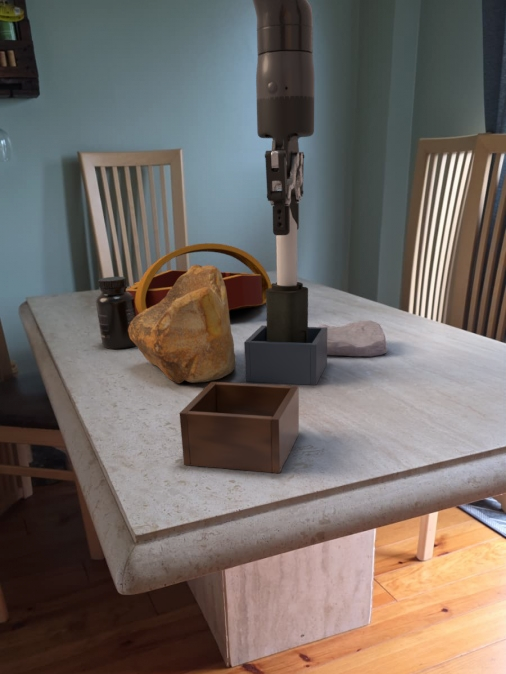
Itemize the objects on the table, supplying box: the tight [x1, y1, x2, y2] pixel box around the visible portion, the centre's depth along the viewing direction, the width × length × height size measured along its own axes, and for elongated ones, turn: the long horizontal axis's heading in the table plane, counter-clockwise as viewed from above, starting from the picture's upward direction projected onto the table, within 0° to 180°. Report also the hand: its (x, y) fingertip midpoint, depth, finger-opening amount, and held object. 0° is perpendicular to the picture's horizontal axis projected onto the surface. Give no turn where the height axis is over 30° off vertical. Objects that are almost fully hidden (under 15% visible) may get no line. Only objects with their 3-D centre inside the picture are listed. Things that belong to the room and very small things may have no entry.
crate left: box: [179, 381, 300, 474], centre depth 69 cm, size 11×11×6 cm
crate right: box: [243, 325, 328, 386], centre depth 95 cm, size 11×11×6 cm
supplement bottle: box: [95, 276, 136, 350], centre depth 112 cm, size 7×7×12 cm
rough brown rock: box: [128, 264, 237, 384], centre depth 97 cm, size 23×17×15 cm
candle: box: [265, 205, 309, 343], centre depth 91 cm, size 5×5×25 cm
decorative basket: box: [126, 242, 272, 316], centre depth 136 cm, size 34×29×15 cm
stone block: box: [317, 320, 388, 357], centre depth 106 cm, size 12×5×10 cm
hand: (286, 232), depth 88 cm, fingers open, 6 cm apart
